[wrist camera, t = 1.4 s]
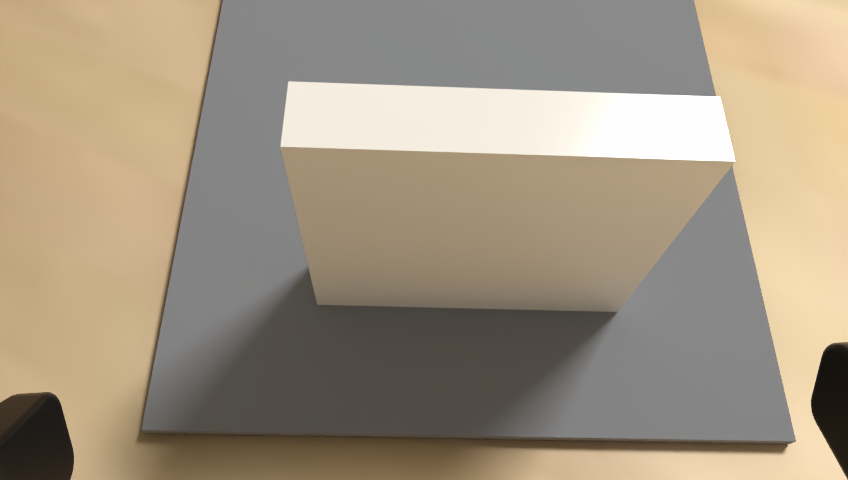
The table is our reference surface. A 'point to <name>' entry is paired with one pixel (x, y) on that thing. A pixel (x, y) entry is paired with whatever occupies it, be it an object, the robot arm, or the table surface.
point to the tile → (493, 191)
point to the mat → (449, 327)
